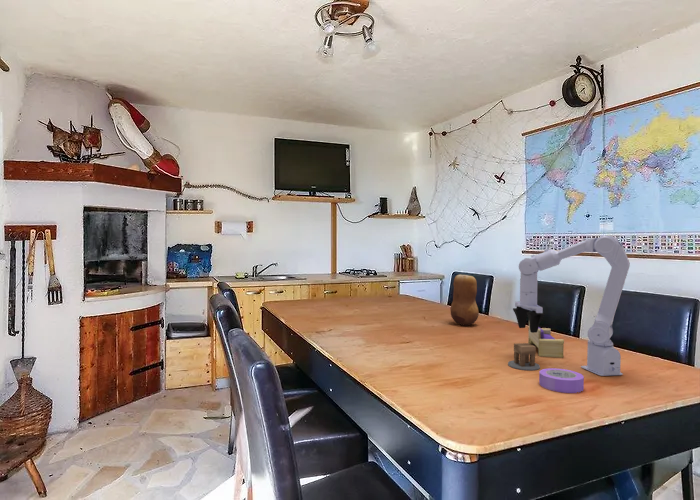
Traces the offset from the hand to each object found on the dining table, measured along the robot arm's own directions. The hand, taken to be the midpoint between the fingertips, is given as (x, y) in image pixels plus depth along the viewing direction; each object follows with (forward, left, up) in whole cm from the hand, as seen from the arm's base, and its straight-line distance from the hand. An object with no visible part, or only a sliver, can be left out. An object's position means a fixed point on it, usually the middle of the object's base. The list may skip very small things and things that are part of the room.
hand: (527, 330), depth 157 cm
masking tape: (-28, +6, -11) cm, 31 cm away
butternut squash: (+62, -3, -11) cm, 63 cm away
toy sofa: (+11, -14, -11) cm, 21 cm away
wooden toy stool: (-8, +6, -10) cm, 14 cm away
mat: (-8, +6, -10) cm, 14 cm away
